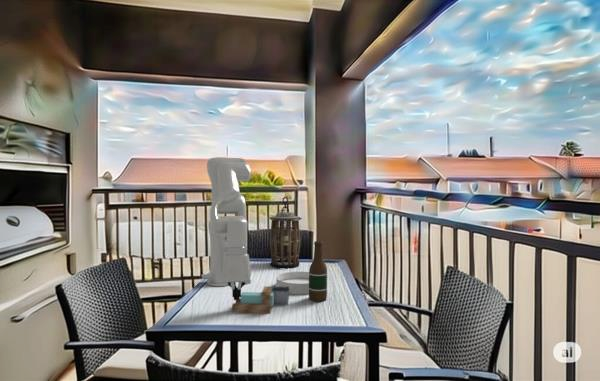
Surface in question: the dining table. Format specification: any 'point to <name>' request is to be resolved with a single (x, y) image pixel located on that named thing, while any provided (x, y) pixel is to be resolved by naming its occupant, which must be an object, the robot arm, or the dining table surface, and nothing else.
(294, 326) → the dining table surface
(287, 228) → the lantern
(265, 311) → the brown wooden bracket
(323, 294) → the beer bottle
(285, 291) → the cradle block
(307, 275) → the dish
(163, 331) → the dining table surface
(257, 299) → the teal block
